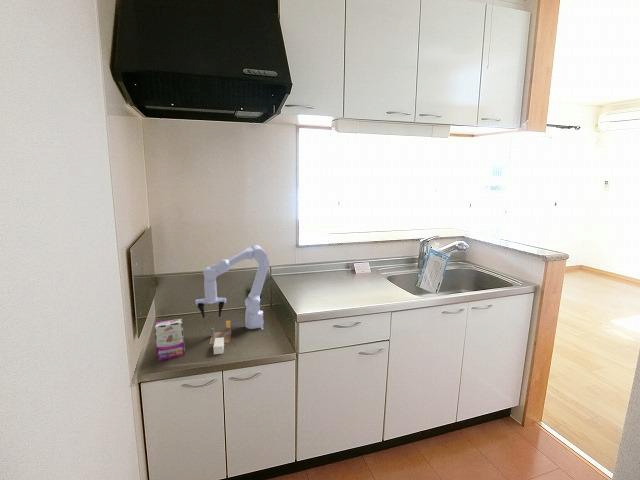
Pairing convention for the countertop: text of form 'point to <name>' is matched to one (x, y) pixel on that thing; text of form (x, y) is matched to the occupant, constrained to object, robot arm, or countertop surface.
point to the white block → (218, 345)
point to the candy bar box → (169, 339)
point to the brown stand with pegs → (220, 335)
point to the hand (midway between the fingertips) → (211, 316)
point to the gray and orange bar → (234, 324)
